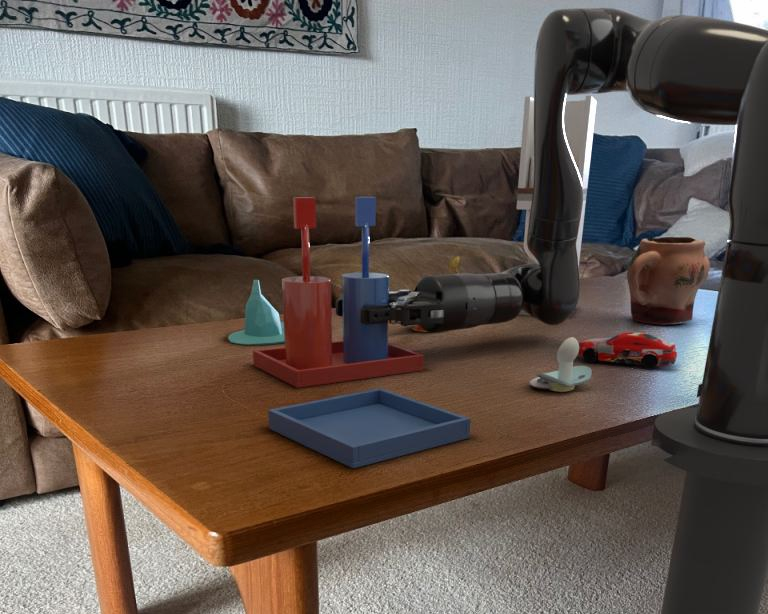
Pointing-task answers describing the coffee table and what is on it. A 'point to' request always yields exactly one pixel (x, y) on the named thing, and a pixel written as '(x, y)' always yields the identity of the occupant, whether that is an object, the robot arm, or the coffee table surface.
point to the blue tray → (368, 426)
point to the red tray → (337, 366)
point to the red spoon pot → (307, 303)
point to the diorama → (259, 322)
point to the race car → (629, 350)
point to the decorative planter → (666, 279)
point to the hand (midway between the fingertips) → (349, 311)
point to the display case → (580, 144)
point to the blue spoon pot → (364, 297)
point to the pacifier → (564, 370)
